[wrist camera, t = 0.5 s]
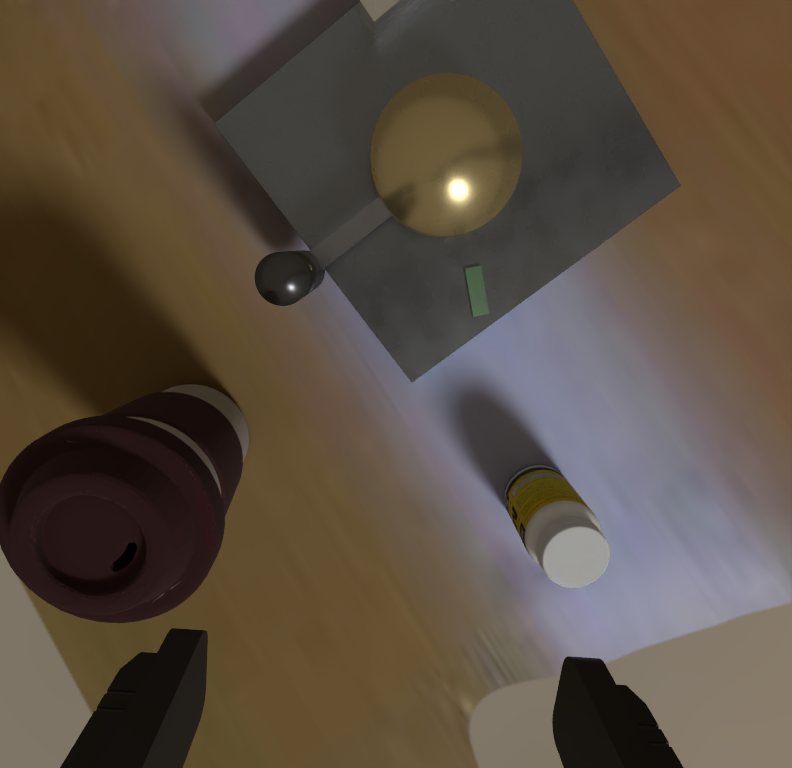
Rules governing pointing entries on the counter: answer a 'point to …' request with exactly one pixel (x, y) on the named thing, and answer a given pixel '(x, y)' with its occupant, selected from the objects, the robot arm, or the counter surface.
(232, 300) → the counter surface
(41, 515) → the coffee cup
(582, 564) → the supplement bottle
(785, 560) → the counter surface
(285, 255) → the cam capstan
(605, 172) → the stand
